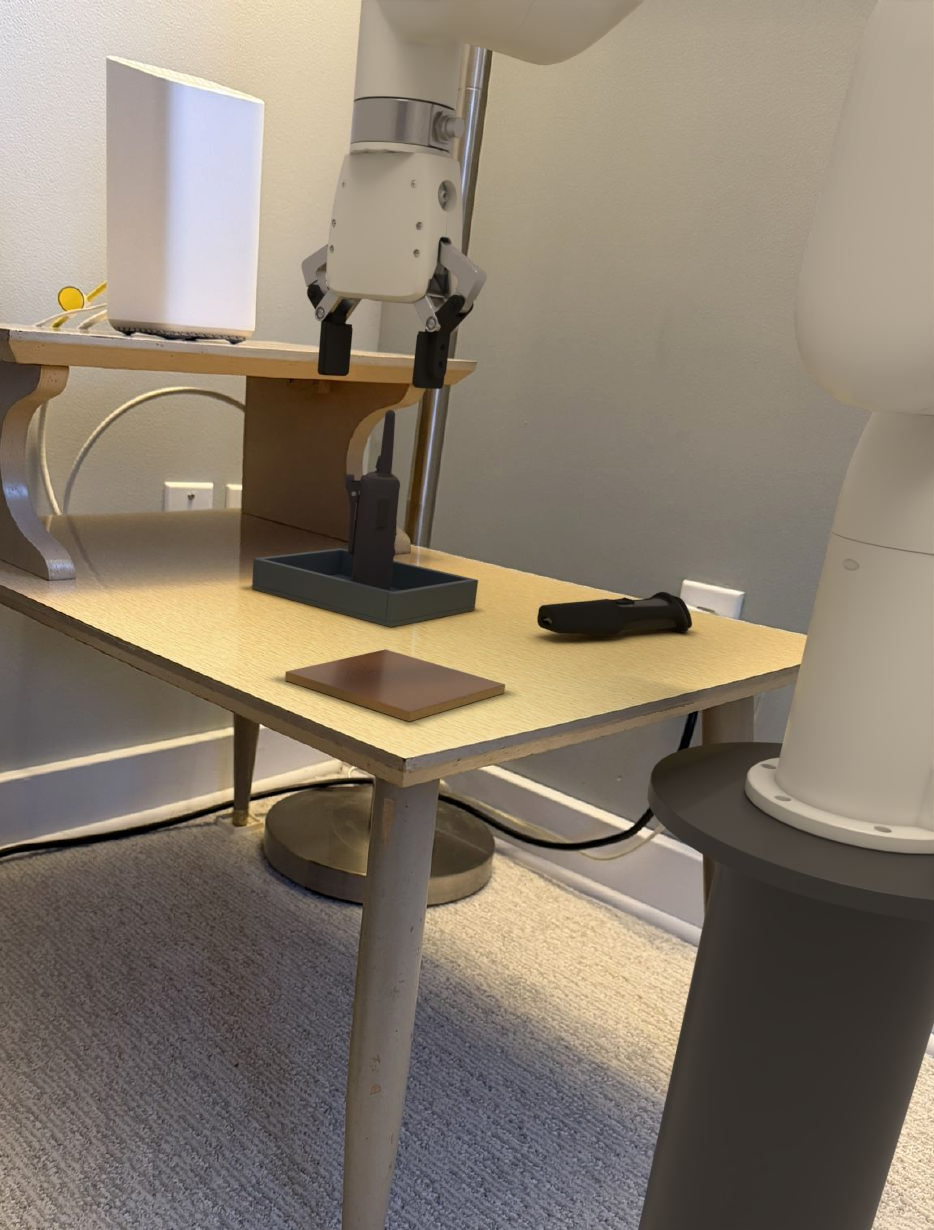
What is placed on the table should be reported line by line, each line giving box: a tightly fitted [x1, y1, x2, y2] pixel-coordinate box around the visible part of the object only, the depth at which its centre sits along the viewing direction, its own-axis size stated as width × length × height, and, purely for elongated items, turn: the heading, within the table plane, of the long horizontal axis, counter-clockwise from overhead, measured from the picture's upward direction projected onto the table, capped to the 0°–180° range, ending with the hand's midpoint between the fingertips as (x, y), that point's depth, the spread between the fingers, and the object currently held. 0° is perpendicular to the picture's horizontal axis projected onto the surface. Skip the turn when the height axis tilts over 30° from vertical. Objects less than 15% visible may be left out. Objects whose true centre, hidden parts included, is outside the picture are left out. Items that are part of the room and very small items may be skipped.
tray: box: [251, 547, 479, 628], centre depth 97 cm, size 15×11×3 cm
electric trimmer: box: [536, 591, 693, 637], centre depth 92 cm, size 4×16×3 cm, turn 123°
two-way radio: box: [344, 409, 401, 591], centre depth 95 cm, size 6×4×15 cm
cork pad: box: [284, 648, 506, 722], centre depth 74 cm, size 10×10×1 cm
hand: (378, 381), depth 92 cm, fingers open, 9 cm apart
